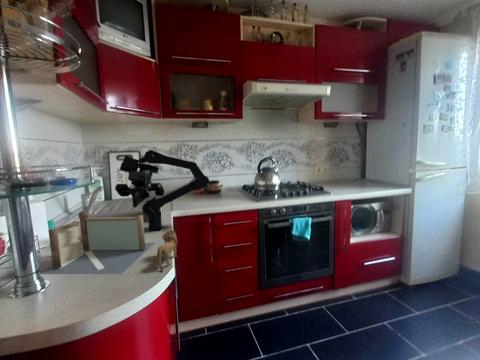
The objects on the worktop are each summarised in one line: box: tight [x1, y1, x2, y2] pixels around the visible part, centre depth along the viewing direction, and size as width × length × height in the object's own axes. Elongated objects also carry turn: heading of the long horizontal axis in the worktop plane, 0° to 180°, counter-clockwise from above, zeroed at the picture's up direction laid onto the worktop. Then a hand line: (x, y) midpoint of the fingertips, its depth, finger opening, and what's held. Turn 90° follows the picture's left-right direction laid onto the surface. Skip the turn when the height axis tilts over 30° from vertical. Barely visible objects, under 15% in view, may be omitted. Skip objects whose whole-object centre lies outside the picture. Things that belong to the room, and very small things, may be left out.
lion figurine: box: [155, 228, 178, 273], centre depth 77 cm, size 15×5×9 cm, turn 6°
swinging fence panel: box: [86, 214, 146, 250], centre depth 87 cm, size 2×20×12 cm, turn 87°
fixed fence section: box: [48, 210, 90, 270], centre depth 81 cm, size 16×3×14 cm, turn 177°
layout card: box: [39, 242, 155, 275], centre depth 83 cm, size 24×26×1 cm
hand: (134, 206), depth 97 cm, fingers closed
